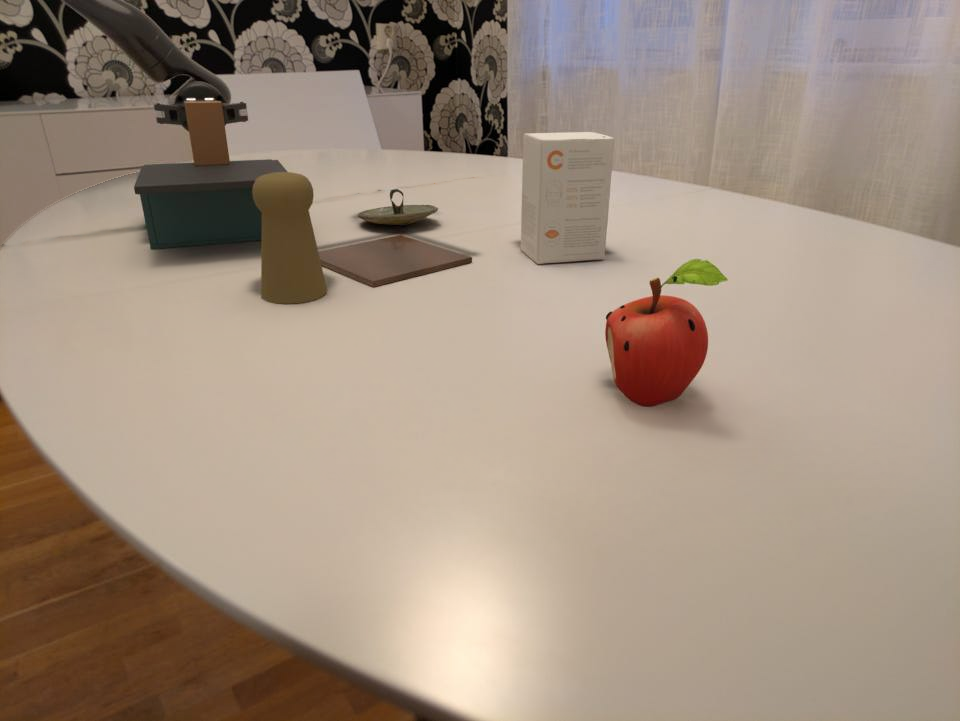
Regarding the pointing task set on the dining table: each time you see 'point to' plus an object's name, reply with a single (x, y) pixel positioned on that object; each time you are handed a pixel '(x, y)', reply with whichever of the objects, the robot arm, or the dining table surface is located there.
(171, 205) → the bin
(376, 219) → the lid
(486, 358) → the dining table surface
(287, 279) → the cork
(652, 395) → the apple
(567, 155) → the small box
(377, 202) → the dining table surface
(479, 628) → the dining table surface
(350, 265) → the board
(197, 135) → the bin lid
